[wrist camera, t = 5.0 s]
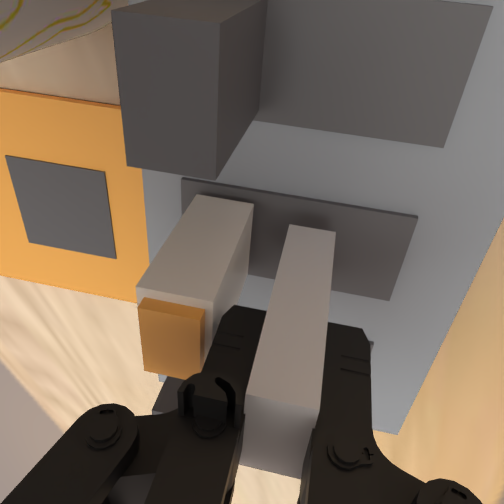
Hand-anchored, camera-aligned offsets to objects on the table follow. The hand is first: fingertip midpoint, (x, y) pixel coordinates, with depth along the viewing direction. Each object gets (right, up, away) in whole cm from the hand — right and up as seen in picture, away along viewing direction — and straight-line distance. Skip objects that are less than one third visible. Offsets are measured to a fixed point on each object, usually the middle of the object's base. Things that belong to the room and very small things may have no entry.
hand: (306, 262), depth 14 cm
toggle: (-3, +1, +1) cm, 3 cm away
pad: (-11, +3, +8) cm, 14 cm away
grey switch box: (+1, +3, +4) cm, 5 cm away
